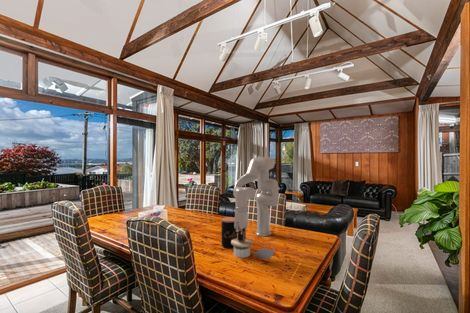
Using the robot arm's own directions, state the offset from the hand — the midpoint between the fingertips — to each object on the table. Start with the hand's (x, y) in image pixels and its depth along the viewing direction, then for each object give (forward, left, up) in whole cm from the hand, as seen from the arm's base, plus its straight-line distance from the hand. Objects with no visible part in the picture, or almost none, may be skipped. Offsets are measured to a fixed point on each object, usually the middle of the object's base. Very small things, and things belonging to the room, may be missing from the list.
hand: (241, 239), depth 138 cm
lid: (0, 0, -2) cm, 2 cm away
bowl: (0, 0, -10) cm, 10 cm away
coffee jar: (-9, -14, -10) cm, 19 cm away
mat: (-7, +12, -10) cm, 17 cm away
